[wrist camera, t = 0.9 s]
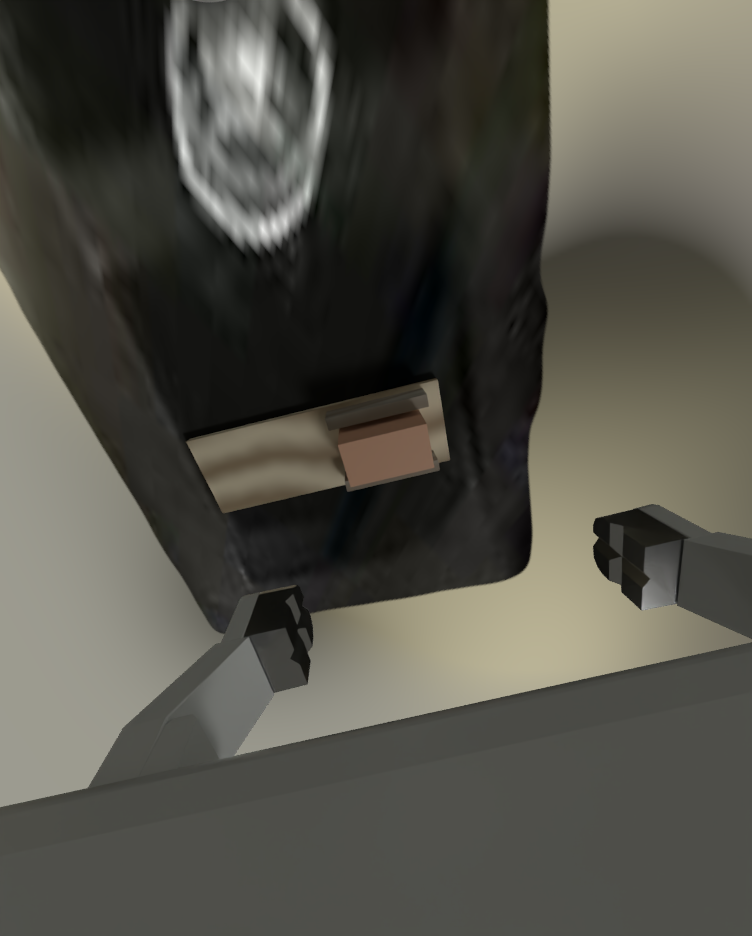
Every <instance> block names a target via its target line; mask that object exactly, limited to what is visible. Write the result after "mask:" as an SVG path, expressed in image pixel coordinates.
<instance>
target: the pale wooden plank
mask: <svg viewBox="0 0 752 936" xmlns="http://www.w3.org/2000/svg"><path fill="white" fill-rule="evenodd" d="M417 409H419V411H420V413H421V415H422V416H423V418H424V420H425V422H426V423H427V428H428V434H429V439H430V445H431V451H432V456H433V462H434V468H431V469H427V470H423V471H418V472H414V473H410V474H406V475H401V476H397V477H393V478H388V479H384V480H380V481H376V482H371V483H367V484H363V485H359V486H354V487H350V484H349V480H348V477H347V474H346V471H345V467H344V464H343V461H342V457H341V454H340V451H339V448H338V437H339V428H343V427H347V426H351V425H355V424H360V423H364V422H368V421H372V420H376V419H380V418H384V417H388V416H392V415H397V414H401V413H405V412H409V411H413V410H417ZM187 444H188V446H189V448H190V450H191V452H192V454H193V456H194V458H195V460H196V462H197V464H198V466H199V468H200V470H201V472H202V473H203V475H204V477H205V479H206V481H207V483H208V485H209V487H210V489H211V491H212V493H213V495H214V497H215V499H216V501H217V503H218V505H219V507H220V508H221V510H222V512H223V513H227V512H231V511H235V510H239V509H244V508H248V507H252V506H256V505H261V504H265V503H269V502H273V501H278V500H282V499H286V498H290V497H295V496H299V495H303V494H307V493H312V492H316V491H320V490H324V489H329V488H333V487H337V486H342V485H346V488H347V491H348V492H349V491H353V490H357V489H361V488H366V487H370V486H374V485H379V484H383V483H387V482H391V481H396V480H400V479H404V478H409V477H413V476H417V475H421V474H426V473H430V472H434V471H438V470H440V469H439V462H444V461H448V460H450V457H449V450H448V444H447V437H446V431H445V424H444V418H443V411H442V405H441V398H440V392H439V385H438V380H437V379H436V378H434V379H430V380H426V381H422V382H418V383H414V384H410V385H406V386H402V387H398V388H394V389H390V390H386V391H382V392H377V393H373V394H369V395H365V396H361V397H357V398H353V399H349V400H345V401H341V402H337V403H333V404H329V405H325V406H321V407H317V408H313V409H309V410H305V411H300V412H296V413H292V414H288V415H284V416H280V417H276V418H272V419H268V420H264V421H260V422H256V423H252V424H248V425H244V426H240V427H236V428H232V429H228V430H223V431H219V432H215V433H211V434H207V435H203V436H199V437H195V438H191V439H189V440H188V441H187Z"/></svg>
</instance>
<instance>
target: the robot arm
mask: <svg viewBox="0 0 752 936" xmlns="http://www.w3.org/2000/svg"><path fill="white" fill-rule="evenodd" d="M194 1H199V2H219V1H224V0H194ZM593 532H594V533H595V534H596V535H597V536H598V537H599V538H598V540H597V542H596V543H595V544H594V546H593V552H594V559H595V562H596V564H597V567H598V568H599V570H600V571H601V573H602V574H603V575H604V576H605V577H606V578H607V579H608V580H609V581H612V582H615V583H617V584H620V585H621V591H622V593H623V594H624V595H625V596H627V598H629V599H630V600H631V601H632V602H633V603H634V604H635V605H636V606H637V607H638V608H639V609H640V610H646V609H651V608H657V607H662V606H667V605H673V604H677V606H680V607H682V608H684V609H686V610H689V611H691V612H693V613H695V614H698V615H700V616H702V617H704V618H706V619H709V620H711V621H713V622H715V623H718V624H720V625H722V626H724V627H726V628H729V629H731V630H733V631H735V632H737V633H740V634H742V635H744V636H747V637H749V638H751V639H752V539H750V538H746V537H741V536H736V535H731V534H726V533H720V532H716V533H710V532H708V531H706V530H705V529H703V528H701V527H699V526H697V525H695V524H693V523H691V522H690V521H688V520H686V519H684V518H682V517H680V516H678V515H676V514H675V513H673V512H671V511H669V510H667V509H665V508H663V507H661V506H659V505H654V504H651V505H647V506H643V507H639V508H635V509H633V510H629V511H625V512H621V513H616V514H612V515H608V516H604V517H599V518H596V519H595V521H594V524H593ZM303 598H304V596H303V594H302V591H301V589H300V587H299V586H298V585H294V586H289V587H284V588H279V589H274V590H269V591H264V592H261V593H260V592H259V593H254V594H250V595H246V596H243V597H242V598H240V600H239V602H238V605H237V607H236V609H235V612H234V614H233V616H232V619H231V621H230V623H229V626H228V628H227V630H226V632H225V635H224V637H223V639H222V642H221V643H218V644H215V645H214V646H213V647H212V648H210V650H208V651H207V652H206V653H205V654H204V655H203V656H202V657H201V658H199V659H198V660H197V661H196V662H195V663H194V664H193V665H192V666H191V667H190V668H189V669H188V670H186V671H185V672H184V673H183V674H182V675H181V676H180V677H179V678H177V679H176V680H175V681H174V682H173V683H172V684H171V685H170V686H169V687H168V688H166V689H165V690H164V691H163V692H162V693H161V694H160V695H159V696H158V697H157V698H155V699H154V700H153V701H152V702H151V703H150V704H149V705H148V706H147V707H146V708H145V709H143V710H142V711H141V712H140V713H139V714H138V715H137V716H136V717H135V718H133V719H132V720H131V721H130V722H129V723H128V724H127V725H126V726H125V727H124V728H123V729H122V731H121V733H120V734H119V736H118V738H117V739H116V741H115V743H114V744H113V746H112V748H111V750H110V752H109V753H108V755H107V756H106V758H105V760H104V762H103V763H102V765H101V767H100V768H99V770H98V772H97V773H96V775H95V777H94V779H93V780H92V782H91V784H90V785H89V787H88V788H87V789H82V790H77V791H73V792H69V793H64V794H59V795H55V796H50V797H46V798H41V799H36V800H32V801H27V802H23V803H18V804H13V805H9V806H4V807H0V936H752V642H751V643H747V644H743V645H738V646H734V647H729V648H724V649H720V650H716V651H711V652H706V653H702V654H697V655H693V656H688V657H683V658H679V659H674V660H670V661H665V662H660V663H656V664H651V665H647V666H642V667H637V668H633V669H628V670H624V671H619V672H615V673H610V674H605V675H601V676H596V677H591V678H587V679H582V680H578V681H573V682H569V683H564V684H560V685H555V686H550V687H546V688H541V689H537V690H532V691H528V692H524V693H519V694H514V695H510V696H505V697H501V698H496V699H492V700H487V701H482V702H478V703H474V704H469V705H464V706H460V707H455V708H451V709H446V710H442V711H437V712H433V713H428V714H424V715H419V716H415V717H410V718H405V719H401V720H397V721H392V722H387V723H383V724H378V725H374V726H369V727H364V728H360V729H355V730H351V731H346V732H342V733H337V734H332V735H328V736H323V737H319V738H314V739H310V740H305V741H301V742H296V743H291V744H287V745H282V746H278V747H273V748H269V749H264V750H260V751H255V752H251V753H246V754H241V755H237V756H234V755H235V753H236V752H237V750H238V749H239V747H240V746H241V744H242V743H243V741H244V740H245V738H246V737H247V735H248V734H249V732H250V731H251V729H252V728H253V726H254V725H255V723H256V722H257V720H258V719H259V717H260V716H261V714H262V713H263V711H264V710H265V708H266V706H267V705H268V703H269V702H270V700H271V699H272V697H273V696H274V693H275V692H279V691H282V690H286V689H290V688H295V687H299V686H302V685H306V684H308V677H309V669H310V658H309V655H308V651H309V650H310V648H311V647H312V645H313V625H312V620H311V616H310V613H309V610H308V609H306V608H305V607H303V606H302V604H303Z"/></svg>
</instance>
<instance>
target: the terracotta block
mask: <svg viewBox="0 0 752 936" xmlns="http://www.w3.org/2000/svg"><path fill="white" fill-rule="evenodd" d="M338 448H339V451H340V454H341V457H342V461H343V464H344V467H345V471H346V474H347V477H348V480H349V484H350V487H354V486H359V485H363V484H367V483H371V482H376V481H380V480H384V479H388V478H393V477H397V476H401V475H406V474H410V473H414V472H418V471H423V470H427V469H431V468H434V462H433V456H432V451H431V445H430V439H429V434H428V428H427V423H426V422H425V420H424V418H423V416H422V415H421V413H420V411H419V409H417V410H413V411H409V412H405V413H401V414H397V415H392V416H388V417H384V418H380V419H376V420H372V421H368V422H364V423H360V424H355V425H351V426H347V427H343V428H339V437H338Z"/></svg>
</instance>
